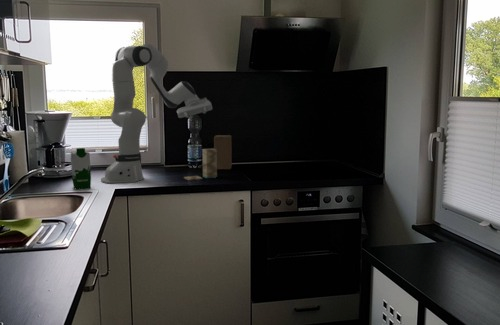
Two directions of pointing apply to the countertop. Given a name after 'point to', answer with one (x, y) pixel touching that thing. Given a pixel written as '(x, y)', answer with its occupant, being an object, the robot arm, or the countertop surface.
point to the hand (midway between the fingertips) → (196, 114)
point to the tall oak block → (209, 163)
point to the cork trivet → (193, 178)
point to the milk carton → (81, 169)
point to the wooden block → (223, 151)
